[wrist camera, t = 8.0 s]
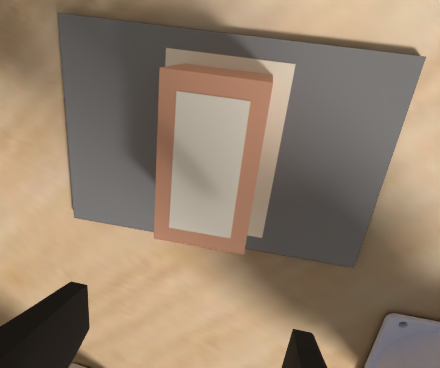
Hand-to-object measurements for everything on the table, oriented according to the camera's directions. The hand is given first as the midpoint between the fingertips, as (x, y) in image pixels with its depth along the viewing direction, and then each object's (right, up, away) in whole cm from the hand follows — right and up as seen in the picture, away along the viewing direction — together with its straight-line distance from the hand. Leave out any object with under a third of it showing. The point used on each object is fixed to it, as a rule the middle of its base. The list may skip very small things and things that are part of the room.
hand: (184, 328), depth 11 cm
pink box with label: (+1, +7, +7) cm, 10 cm away
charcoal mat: (+1, +7, +7) cm, 10 cm away
